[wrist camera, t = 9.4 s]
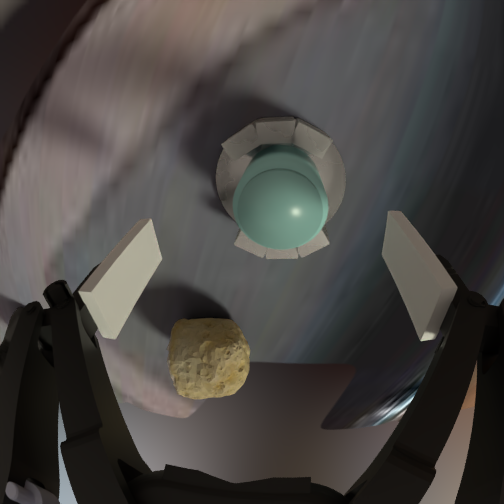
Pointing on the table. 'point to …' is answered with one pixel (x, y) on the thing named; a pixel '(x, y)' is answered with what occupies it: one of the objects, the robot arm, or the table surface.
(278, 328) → the table surface
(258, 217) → the teal rounded cylinder
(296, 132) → the grey ring-shaped piece
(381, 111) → the table surface
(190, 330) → the coral
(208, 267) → the table surface
